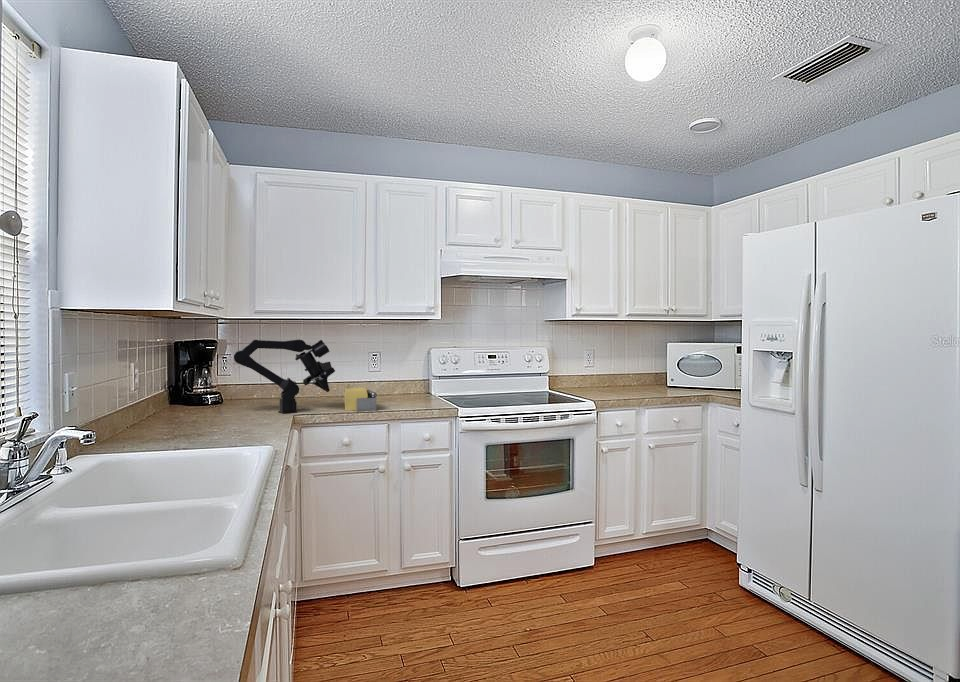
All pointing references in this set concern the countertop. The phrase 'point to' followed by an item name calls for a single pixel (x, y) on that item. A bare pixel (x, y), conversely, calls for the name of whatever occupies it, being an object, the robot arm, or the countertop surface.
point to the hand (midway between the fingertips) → (328, 391)
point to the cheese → (354, 397)
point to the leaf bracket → (367, 402)
